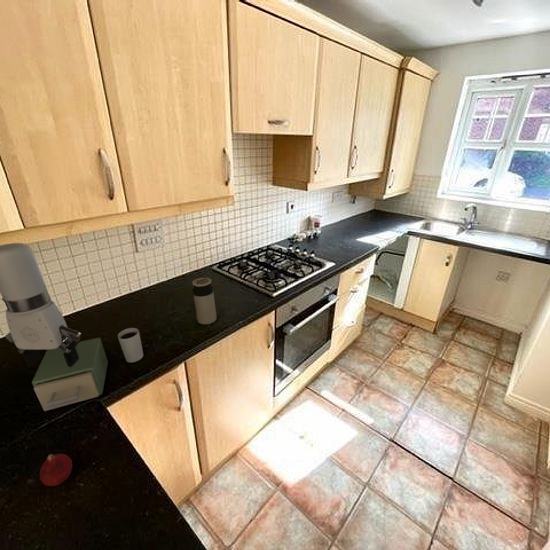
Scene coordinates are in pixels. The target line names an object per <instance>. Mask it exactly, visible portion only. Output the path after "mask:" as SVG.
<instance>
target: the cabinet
mask: <svg viewBox="0 0 550 550" xmlns="http://www.w3.org/2000/svg"><path fill="white" fill-rule="evenodd" d="M65 345H66V346H67V347H68V345H69V344H68V343H67V344H65ZM75 348H76V351H77V353H78V356H79V360H78V361H77V362H76V363H75V364H74V365H73V366H72V367H68V365H67V363H66V360H65V358H64V355H63V354H64V353H65V352H64V351H63V350H61V349H60V348H59V347H58V348H56V349H46V352H45V353H44V356H43V358H42V360H41V362H40V364H39V366H38V368H37V369H36V372H35V375H34V376H33V379H32V381H31V384H32V386H33V388H34V387H35V385H39V384H41V383H42V382H46V381H50V380H54V379H58V378H62V377H66V376H70V375H74V374H78V373H82V372H86V371H91V372H92V375H93V378H94V381H95V384H96V387H97V389H98V392H99V396H100V395H103V393H104V386H105V381H106V375H107V369H108V364H109V361H108V358H107V355H106V352H105V348H104V346H103V342H102V339H101V337H96V338H90V339H87V340H86V339H85V340H82V341H80V342H79V343H78V344H77V346H76V347H75Z"/></svg>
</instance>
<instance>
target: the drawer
mask: <svg viewBox="0 0 550 550" xmlns="http://www.w3.org/2000/svg"><path fill="white" fill-rule="evenodd" d="M33 391H34V392H35V394H36V397H37V399H38V401H39V403H40V405H41V408H42V410H43V411H44V412H47V411H50V410H55V409H58V408H61V407H66V406H69V405H72V404H76V403H79V402H83V401H87V400H91V399H94V398H98V397H99V396H100V395H99V392H98V389H97V387H96V384H95V381H94V378H93V375H92V372H91V371H86V372H82V373H78V374H74V375H70V376H66V377H62V378H58V379H54V380H50V381H46V382H42V383H41V384H39V385H35V387H34V386H33Z"/></svg>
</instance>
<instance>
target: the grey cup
mask: <svg viewBox="0 0 550 550" xmlns="http://www.w3.org/2000/svg"><path fill="white" fill-rule="evenodd" d="M117 339H118V341H119V345H120V348H121V350H122V353H123V357H124V359H125V361H126V362H127V363H136V362H139V361H140V360H142V359H143V357H144V351H143V346H142V340H141V335H140V329H138V328H136V327H128V328H126V329H123V330H121V331H120V332H119V333H118V334H117Z"/></svg>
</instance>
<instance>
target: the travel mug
mask: <svg viewBox="0 0 550 550" xmlns="http://www.w3.org/2000/svg"><path fill="white" fill-rule="evenodd" d="M191 283H192V284H191V285H193V288H192V295H193V301H194V308H195V313H196V321H197V323H198V324H200V325H211V324H212V323H213V324H214V322H215V321H216V320H218V319H217V309H216V302H215V294H214V287H213V285H212V279H211V278H209V277H199V278H196V279H193V280H192V282H191Z"/></svg>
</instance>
